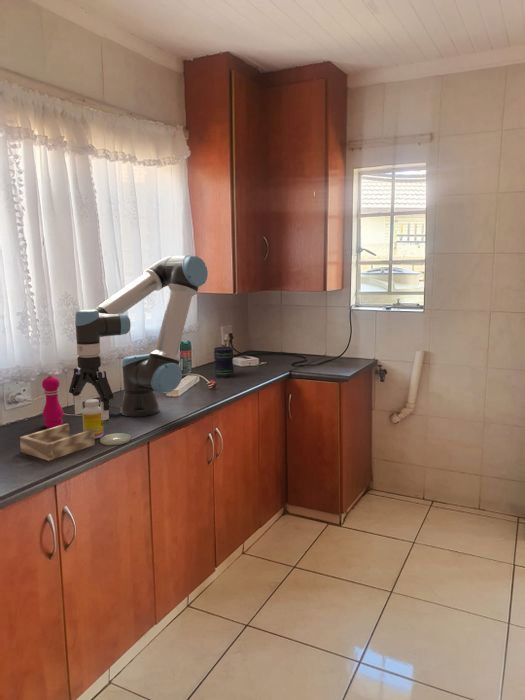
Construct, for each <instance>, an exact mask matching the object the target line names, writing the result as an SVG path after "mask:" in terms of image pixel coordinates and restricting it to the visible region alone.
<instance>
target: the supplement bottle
mask: <svg viewBox="0 0 525 700" xmlns="http://www.w3.org/2000/svg"><path fill="white" fill-rule="evenodd" d="M99 405H100V401H99V399H96V398H89V399H86V400H84V406H85V407H83V410H82V413H81V415H82V428H83V429H82V430H83V431H82V432H84V431H88V430H94V439H95V440H96V439H100V438H101V437H103V436H105V435H104V433H105V432H104V420H101V406H99Z"/></svg>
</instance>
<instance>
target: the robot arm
mask: <svg viewBox="0 0 525 700" xmlns="http://www.w3.org/2000/svg"><path fill="white" fill-rule="evenodd" d="M208 274H209V271H208V268H207V266H206V263H205V261H204V260H203V259H202V258H201V257H199V256H197V255H190V254H188V255H171V256H165V257H164V258H162V259H160V260H159V261H157V262H155V263H153V264H152V265H150V266H149V267H148V268H146V269H145V270H143V274H142V275H141V276H139V277H138V278H136V279H135V280H134V281H132V282H131V283H129V284H128V285H126V286H125V287H124V288H121V290H119V291H118V292H117V293H115V294H113V295H112V296H110V298H108V299H106V300H105V301H104V302H102V303H101V304H99V305H98V306H96V307H95V308H94V309H82V310H78V311H77V310H76V312H75V317H74V318H75V319H74V320H75V321H74V322H75V323H74V325H75V337H76V339H75V340H76V355H77V357H76V358H77V360H76V361H77V367H75V368H73V375H72V379H71V382H70V386H69V390H68V393H70V394H72V396H73V403H74V415H80V414H82V410H83V409H84V407H83V406H84V405H83V395H82V392H83V389H84V387H86V385H87V383H88V384H91V385H92V386H93V387H94V388H95V390H96V392H97V394H98V396H99V397H100V399H101V400H100V401H99V405H100V407H101V420H103V421H106V420H109V418H110V413H109V412H110V411H109V410H110V401H111V400H113V399H114V395H113V392H112V389H111V386H110V384H109V380H108V379H107V371H105V370H103V371H102V370H101V371H100V369H99V368H100V367H101V366H102V363H101V359H102V358H101V356H100V355H101V342H100V341H101V340H100V338H103V337H112V336H113V337H114V336H123V335H127V334H128V333H129V332H130V330H131V326H132V325H131V319H130V317H129V315H127V314H126V312H127V311H129V310H130V309H131V308H132V307H134V306H136V305H137V304H138V303H139V302H141V301H142V300H144V299H145V298H146V297H148V296H150V294H152V293H153V292H155V291H157V292H159V291H161V290H162V289H163V288H165V287H168V289H169V290H170V293H169V295H168V296H169V297H168V300H167V303H166V307H165V311H164V313H163V314H164V315H163V317H162V323H161V327H160V329H159V333H158V337H157V342H156V345H155V349H154V350H153V351H151V352H150V353H146V354H145V353H144V354H136V355H130V356H125V357H124V358H123V359H122V365H121V369H122V379H123V380H122V381H123V398H122V403H121V405H120V408H119V409H120V414H121V413H122V414H121V415H123V416H125V417H132V418H133V417H137V418H138V417H145V416H146V417H147V416H152V415H155V414H157V413H158V412H159V411H160V406H159V405H160V404H159V403H158V401H157V400H158V399H157V397H156V395H155V392H157V393H172V392H174V390H176V389H177V388H178V387H179V386H180V385H181V381H182V378H183V372H182V369H181V367H180V361H181V360H180V359H179V357H178V353H179V349H180V344H181V341H182V336H183V334H184V329H185V325H186V322H187V318H188V315H189V312H190V311H189V310H190V306H191V302H192V298H193V297H195V295H197V294H198V290H199V287H202V286H203V285H205V283H206V282H207V281H208Z"/></svg>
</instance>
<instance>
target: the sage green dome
mask: <svg viewBox="0 0 525 700" xmlns="http://www.w3.org/2000/svg"><path fill="white" fill-rule="evenodd" d="M131 440H132V437H131V435H130V434H128V433H123V432H120V433H119V432H117V433H115V432H114V433H108V434H105V435H103V436H102V437H100V438H99V441H100V442H99V443H100V444H101V445H102V446H103V445H104V446H120V445H125V444H127V443H129V442H131Z"/></svg>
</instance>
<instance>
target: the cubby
mask: <svg viewBox="0 0 525 700" xmlns="http://www.w3.org/2000/svg"><path fill="white" fill-rule="evenodd" d="M95 441H96V439H94V430H88V431H82V432H79V433H75V434H72V435H71V434H70V424H69V423H63V424H62V425H59V426H56V427H52V428H46V429H42V430H39V431H35V432H32V433H29V434H26V435H25V434H24V435H23V436H19V443H20V444H19V445H20V453H23V454H26V455H28V456H29V455H30V456H33V457H35V458H39V459H43V460H45V461H49V462H50V461H52V460H55V459H58V458H61V457H64V456H67V455H69V454H72V453H74V452H75V453H76V452H79V451H81V450H84V449H87V448H89V447H93V446H95V445H96V442H95Z"/></svg>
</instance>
